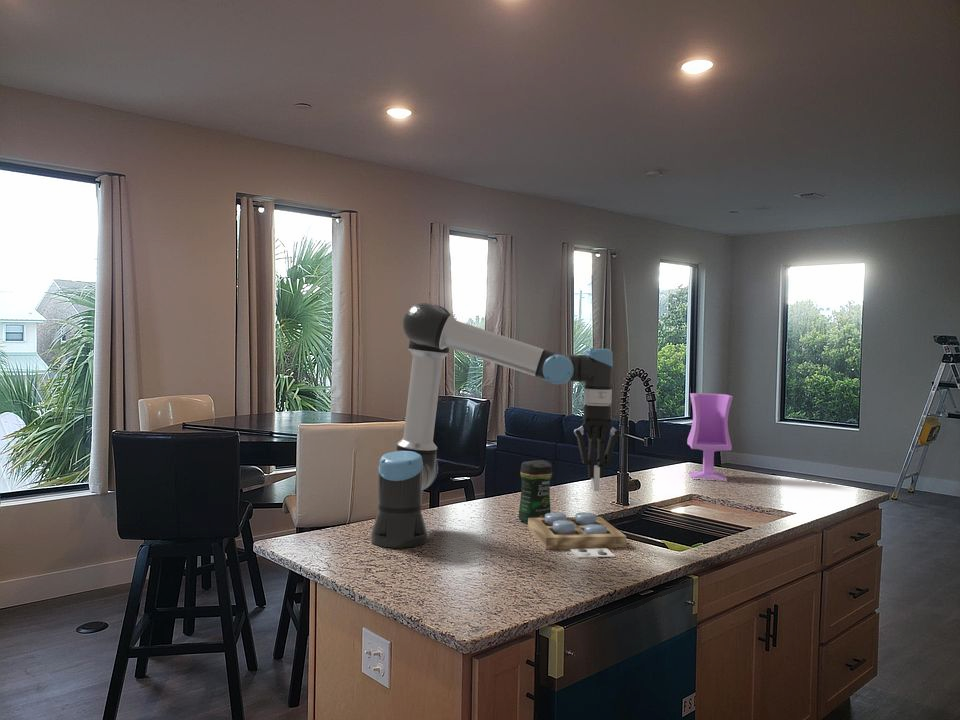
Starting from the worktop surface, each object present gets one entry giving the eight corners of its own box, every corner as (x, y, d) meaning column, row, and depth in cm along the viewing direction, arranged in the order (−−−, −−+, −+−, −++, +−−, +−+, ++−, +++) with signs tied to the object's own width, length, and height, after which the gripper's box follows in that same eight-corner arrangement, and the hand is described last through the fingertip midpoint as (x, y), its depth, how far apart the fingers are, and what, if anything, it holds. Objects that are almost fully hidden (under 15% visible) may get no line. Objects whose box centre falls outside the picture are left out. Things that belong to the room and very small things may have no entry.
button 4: (588, 539, 194) (588, 530, 194) (581, 533, 200) (581, 524, 200) (609, 538, 195) (609, 529, 195) (602, 533, 201) (602, 524, 201)
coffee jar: (531, 526, 213) (533, 463, 212) (514, 520, 219) (515, 460, 219) (555, 521, 218) (557, 461, 218) (538, 516, 225) (539, 457, 224)
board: (546, 549, 188) (546, 537, 188) (527, 528, 210) (528, 517, 210) (626, 547, 192) (626, 536, 192) (600, 526, 213) (600, 516, 213)
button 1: (547, 526, 201) (547, 517, 201) (542, 521, 207) (542, 512, 207) (568, 526, 202) (568, 517, 202) (562, 521, 208) (562, 512, 208)
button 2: (555, 535, 192) (556, 526, 192) (550, 529, 198) (550, 520, 198) (577, 534, 193) (577, 525, 193) (571, 529, 199) (571, 520, 199)
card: (577, 558, 181) (577, 556, 181) (569, 550, 188) (569, 548, 188) (615, 557, 182) (615, 555, 182) (606, 549, 189) (606, 547, 189)
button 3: (578, 526, 203) (578, 517, 203) (572, 521, 209) (572, 512, 208) (599, 525, 204) (599, 517, 203) (592, 520, 209) (592, 512, 209)
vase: (690, 480, 294) (693, 395, 294) (686, 473, 310) (688, 392, 309) (730, 482, 292) (733, 396, 291) (724, 475, 307) (726, 394, 306)
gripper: (578, 405, 192) (576, 492, 192) (625, 405, 194) (622, 492, 194) (570, 403, 199) (568, 487, 200) (615, 403, 201) (613, 487, 202)
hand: (595, 489), depth 197 cm, fingers closed
